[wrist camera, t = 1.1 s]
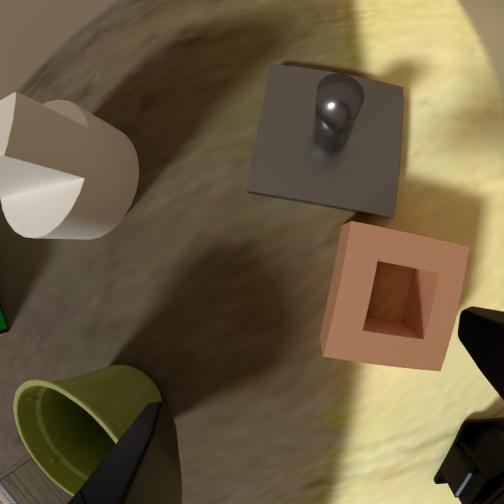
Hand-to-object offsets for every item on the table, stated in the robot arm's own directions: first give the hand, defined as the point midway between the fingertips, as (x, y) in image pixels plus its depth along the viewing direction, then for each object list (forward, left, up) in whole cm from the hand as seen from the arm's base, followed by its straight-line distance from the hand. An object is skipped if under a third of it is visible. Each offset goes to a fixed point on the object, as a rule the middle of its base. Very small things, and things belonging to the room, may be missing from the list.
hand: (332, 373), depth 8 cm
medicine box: (+22, +27, -12) cm, 37 cm away
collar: (-4, -1, -12) cm, 13 cm away
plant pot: (+12, +11, -12) cm, 20 cm away
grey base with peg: (+1, -10, -12) cm, 16 cm away
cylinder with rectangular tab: (+18, -5, -12) cm, 22 cm away
